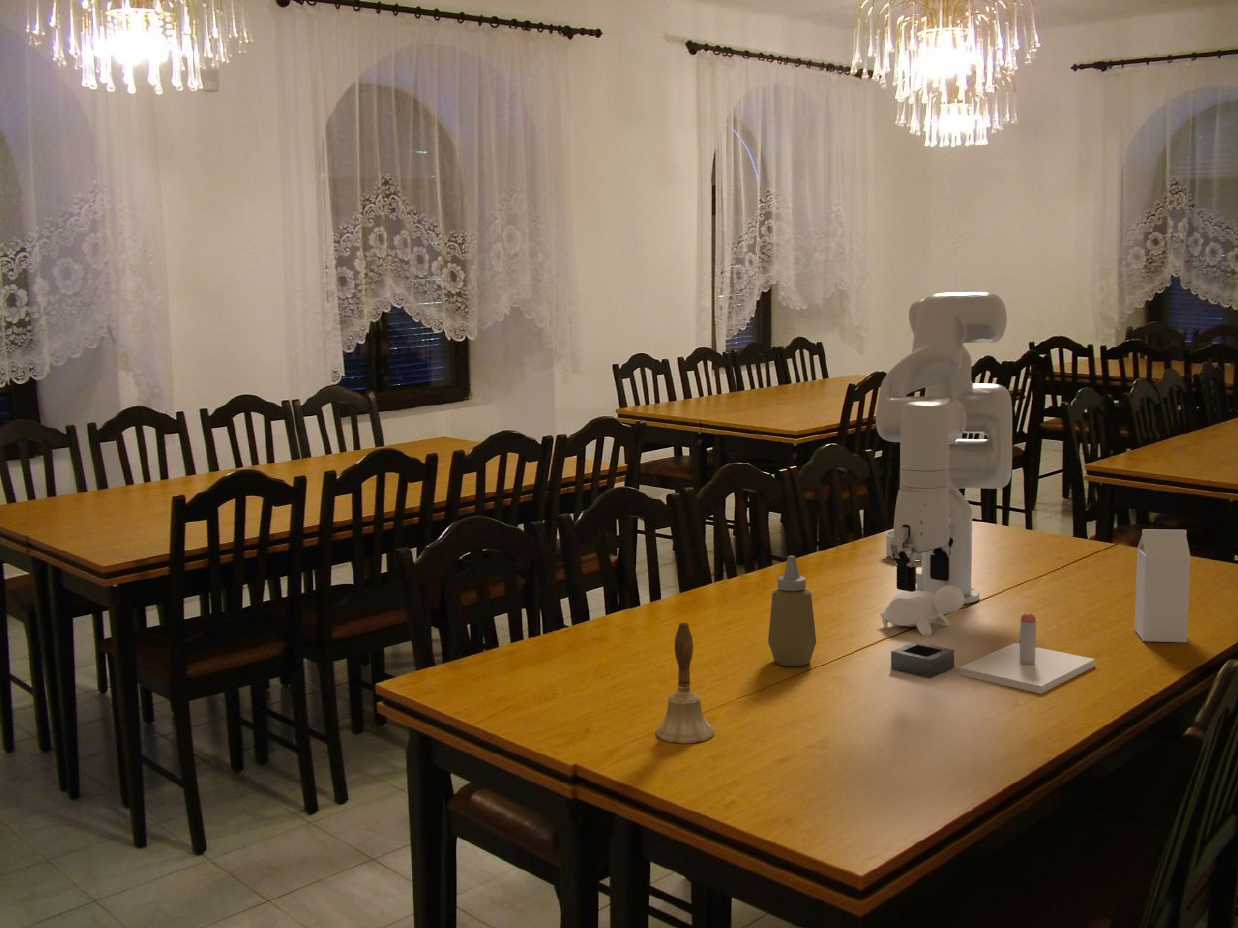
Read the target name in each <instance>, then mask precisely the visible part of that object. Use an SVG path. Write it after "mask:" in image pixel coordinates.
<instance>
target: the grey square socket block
mask: <svg viewBox="0 0 1238 928" xmlns="http://www.w3.org/2000/svg"><path fill="white" fill-rule="evenodd" d="M890 661H891V662H890V670H893V671H895V672H896V671H897V672H902V673H905V674H910V675H914V676H918V677H922V678H926V679H931V678H934V677H936V676H939V675H941V674H943V673H946V672H948V671H950V670H952V669H955V649H951V648H946V647H942V646H936V645H934V644H933V645H932V644H926V643H923V642H918V641H914V642H912V643H909V644H906V645H904V646H901V647H899V648H896V649H893V650H891V651H890Z"/></svg>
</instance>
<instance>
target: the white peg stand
mask: <svg viewBox="0 0 1238 928" xmlns="http://www.w3.org/2000/svg"><path fill="white" fill-rule="evenodd" d="M1035 616H1036V615H1034V614H1033V613H1030V612H1025V613H1023V614H1022V616H1021V618H1020V623H1019V624H1020V627H1019V642H1014V643H1011V644H1008V645H1007V646H1005V647H1002V648H1000V649H998V650H995V651H993V652H991V653H988V654H986V655H983V656H982V657H979V658H978V659H974V660H972V661H971V662H968V663H966V664H963V665H961V666H959V667H958V676H962V677H967V678H972V679H976V680H980V681H983V682H984V681H985V682H988V683H993V684H996V685H997V684H998V685H1001V686H1006V687H1010V688H1014V689H1018V690H1022V689H1023V691H1027V692H1032V693H1035V694H1036V693H1037V694H1040V695H1042V694H1044V693H1046V692H1047V691H1049V690H1051V689H1054V688H1055V687H1057V686H1059V685H1061V684H1063V683H1065V682H1067V681H1070V680H1071V679H1073V678H1075V677H1077V676H1079V675H1082V674H1083V673H1084V672H1086V671H1089V670H1090V669H1092V668H1094V667H1095V666H1096V659H1095V658H1092V657H1087V656H1080V655H1076V654H1071V653H1067V652H1062V651H1057V650H1052V649H1048V648H1042V647H1037V646H1036V645H1037V644H1036V642H1037V641H1036V640H1037V620H1036V617H1035Z"/></svg>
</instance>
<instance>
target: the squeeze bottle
mask: <svg viewBox="0 0 1238 928" xmlns="http://www.w3.org/2000/svg"><path fill="white" fill-rule="evenodd" d="M798 567H799V566H798V563H797V559H796V556H795V555H788V556H787V559H786V563H785V569H784V573H783V575H781V576H779V577H777V588H776V589H775V590H773V591H772V596H771V604H770V615H769V617H770V618H769V627H768V639H767V643H768V646H769V649H770V652H771V655H772V658H773V660H774V662H775V663H776V664H777V665H781V666H786V667H800V666H801V667H802V666H806V665H808V664H809V663H811V660H812V656H813V654H814V651H815V647H816V644H817V635H816V626H815V615H814V607H813V597H812V592H811V591H810V590H808V589H807V587H806V585H807V582H806V581H807V579H806V577H805V576H803V575H800V573H799V568H798Z"/></svg>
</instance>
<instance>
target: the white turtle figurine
mask: <svg viewBox="0 0 1238 928" xmlns="http://www.w3.org/2000/svg"><path fill="white" fill-rule="evenodd" d="M963 603H964V596H963V594H962V591H961V590H960V589H959V588H958V587H956V586H952V585H946V586H944V587H942V588H940V589H939V590H938V591H937V592H936V593H935V594H934V593H933V592H931V591H919V590H915V591H914V592H910V591H904V590H902V591H901V592H899V593H898V594H896V595H895V596H894V597H893V598H892V599H891V601H890V603H889V604H888V606H887V605H886V607H885V610H884V611H883V612H880V613H879V615H880V617H881V618H882V620H881V622H882V625H883V627H884V628H887V627H888V623H890V624H892V625H897V626H901V627H902V626H903V627H907V628H914V627H916V628H917V630H918V632H919V633H920V634H921V635H922V636H923V637H930V636H932V633H933V630H932V626H931V623H933V622H935V623H936V624H938V625H939V626H940V627H942V628H947V627H948V626H949V624H950V622H949V621H948V619H947V617H946V616H945V615H947V614H953V613H956V612H957V611H958V610H960V609H961V608H962V607H963V605H964V604H963Z"/></svg>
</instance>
